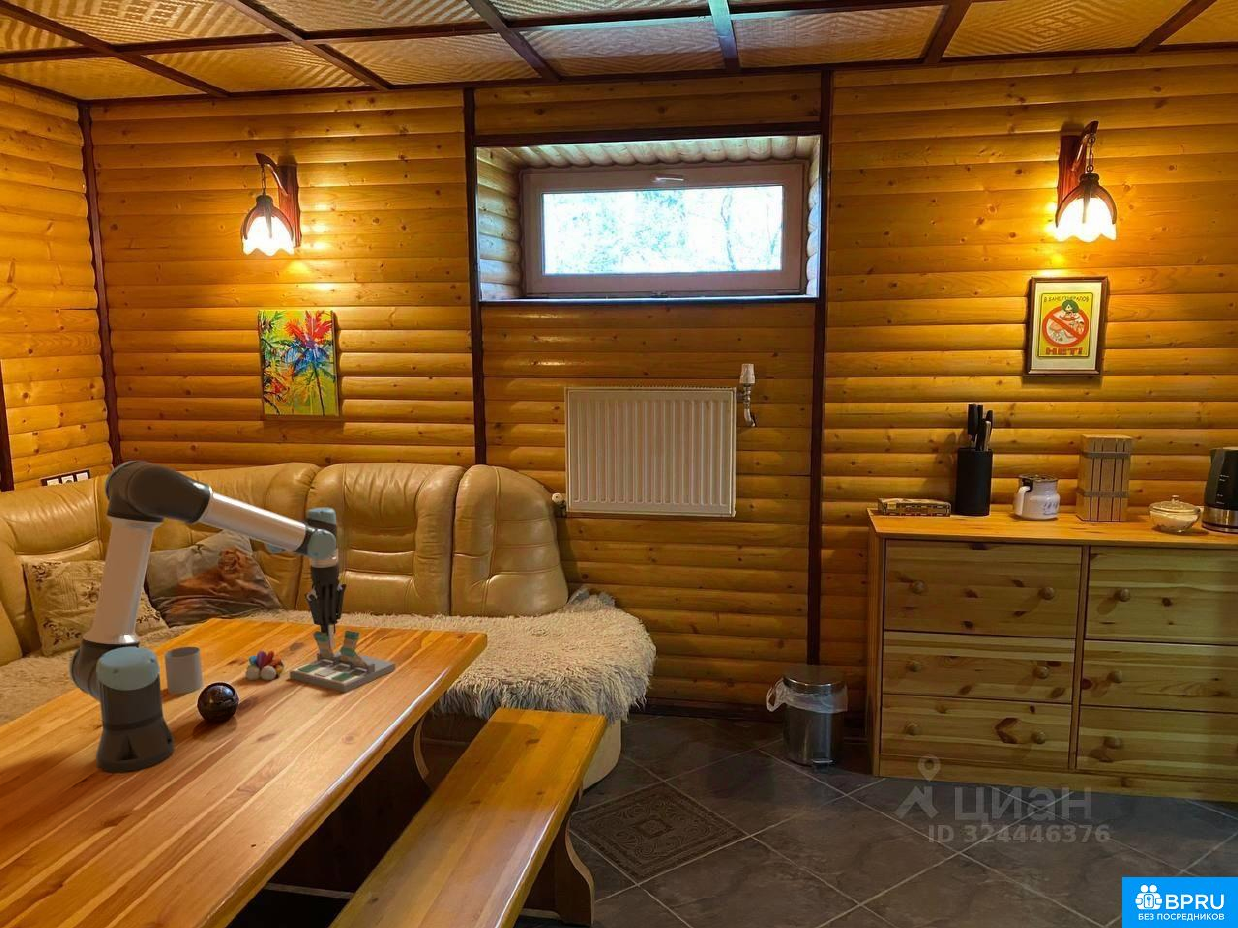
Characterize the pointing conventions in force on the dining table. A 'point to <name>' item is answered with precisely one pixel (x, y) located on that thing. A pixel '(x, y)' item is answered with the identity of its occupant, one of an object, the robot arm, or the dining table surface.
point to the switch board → (341, 672)
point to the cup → (183, 670)
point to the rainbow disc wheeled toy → (264, 666)
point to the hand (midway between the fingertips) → (329, 646)
